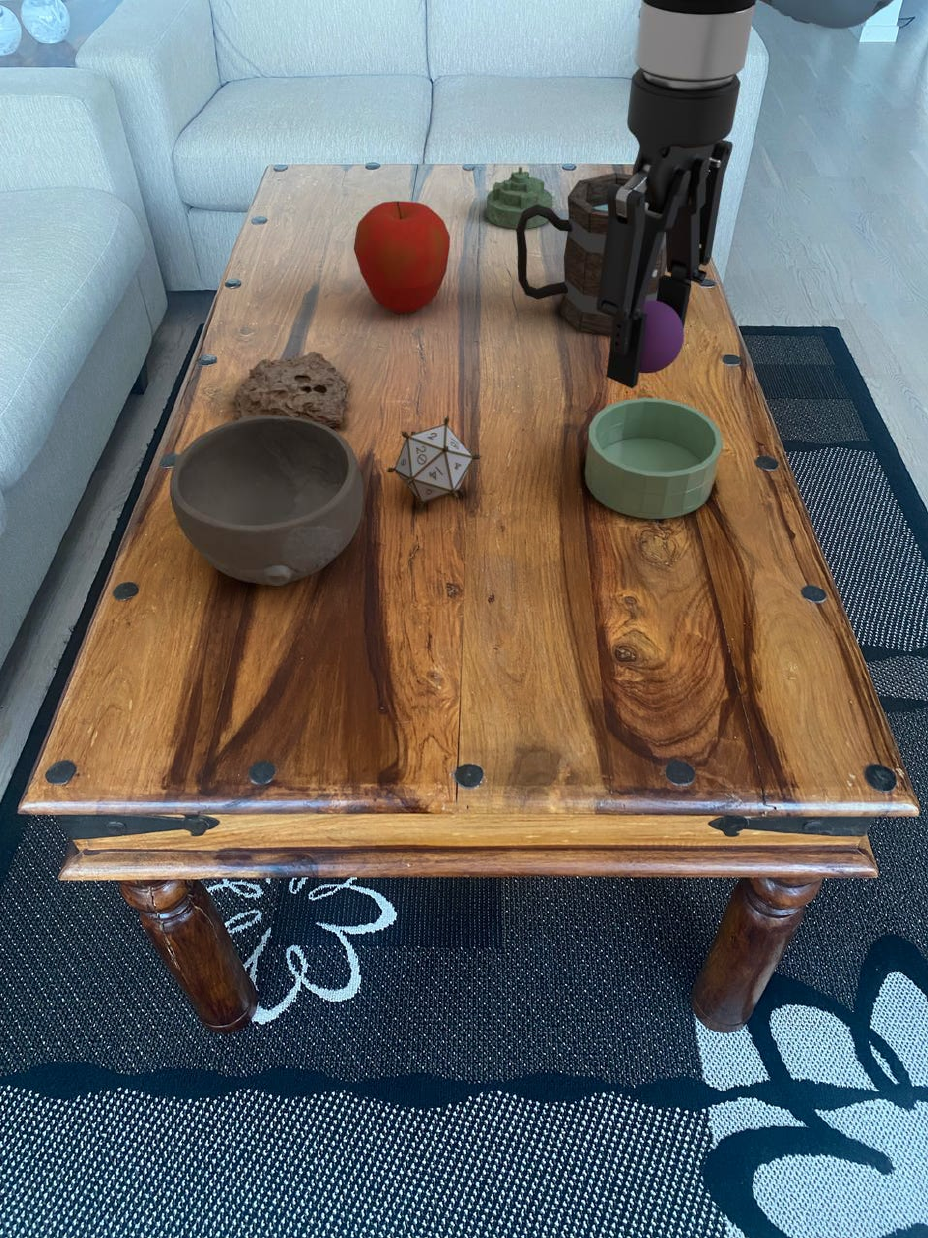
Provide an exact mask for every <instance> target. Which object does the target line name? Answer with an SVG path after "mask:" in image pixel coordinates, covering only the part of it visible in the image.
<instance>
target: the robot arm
mask: <svg viewBox="0 0 928 1238" xmlns="http://www.w3.org/2000/svg"><path fill="white" fill-rule="evenodd" d="M894 1H895V0H759V2H762V3H764V4H766V5H768V6H770V7H772V9H773V10H776V11H778V12H779V13H780V14H781V15H782V16H783V17H790V18H791V19H792V20H793V21H795V22H797V23H802V24H807V25H809V24H813V25H816V26H820V27H823V28H827V29H833V30H844V29H848V28H855V27H857V26H860V25H862V24H864V23H865V22H867V21H868V20H870V18H871V17H873V16H875V14H877V13H878V12H880V11H881V10H883V9H885V8H886V7H889V5H890V4H892V3H893V2H894ZM756 2H757V0H641V2H640V8H639V10H638V14H637V15H638V16H637V17H638V27H637V36H636V44H635V50H634V51H635V52H634V63H635V65H636V66H637V67H638V69H637V70H636V71H635V73H633V75H632V76H631V83H630V91H629V100H628V109H627V119H626V124H627V129H628V130H629V132H630V133H631V134H632V135H633V136H634V138H635V139H636V141H637V143H638V150H637V155H636V159H635V161H634V164H633V166H632V167H633V168H632V174H631V175H632V176H633V177H632V178H631V179H630V180H629V181H628V182H627V183H626V184H625V185H624V186H620V185H617V184H612V185H611V186H610V188H609V190H608V193H607V204H608V217H609V218H608V225H607V233H606V240H605V247H604V255H603V262H602V269H601V277H600V284H599V291H598V299H597V306H596V309H597V311H598V312H601V313H603V314H606V315H608V316H611V317H613V320H612V329H611V336H610V339H609V352H608V360H607V368H606V378H608V379H611V381H614V382H616V383H619V384H621V385H624V386H626V387H628V388H629V389H630V388H631V389H634V388H635V387H637V386H638V382H639V375H640V373H639V369H640V363H641V356H642V349H643V342H644V335H645V328H646V322H647V314H644V313H642V309H643V306H644V302H645V299H646V295H647V292H648V289H649V285H650V282H651V278H652V275H653V271H654V268H655V265H656V261H657V258H658V254H659V251H660V248H661V244H662V241H663V237H664V234H665V232H666V262H667V267H666V271H667V273H669V274H670V275H667V274H665V275H663V276H662V277H660V279H659V285H658V292H657V298H656V301H659V302H662V303H664V304H666V305H668V306H670V307H671V308H672V309H673V310H674V311H675V312H676V313H677V315H678V316H679V318H680V320H681V322H682V325H683V330H684V329H685V324H686V318H687V313H688V307H689V301H690V296H691V290H692V285H693V284H692V282H694V283H696V284H700V285H701V284H703V283H704V281H705V280H706V278H707V273H708V272H707V271H705V270H702V269H700V266H705V267H706V266H708V264H709V263H710V262H711V258H712V256H713V255H712V254H713V249H714V242H715V236H716V230H717V223H718V216H719V212H720V211H719V210H720V206H721V205H720V204H721V198H722V192H723V186H724V180H725V174H726V171H727V167H728V164H729V161H730V158H731V156H732V155H731V154H732V151H733V146H734V145H733V142H732V141H729V140H725V139H726V138H727V137H728V136H729V135H730V134H731V132H732V129H733V125H734V120H735V115H736V109H737V104H738V98H739V93H740V89H741V81H740V79H739V76H738V73H740V72H741V71H742V70H743V69H744V68H745V66H746V59H747V54H748V49H749V42H750V37H751V32H752V31H751V30H752V25H753V19H754V13H755V9H756ZM646 210H649V211H652V212H655V213H658V214H662V217H659V216H656V215H653V214H650V213H647V212H645V211H646ZM680 352H681V351H680ZM680 352H679V354H680Z"/></svg>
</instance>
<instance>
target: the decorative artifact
mask: <svg viewBox="0 0 928 1238" xmlns="http://www.w3.org/2000/svg"><path fill="white" fill-rule="evenodd" d="M536 204H539V205H542V206H545V207H548V208H550V209H551V210H552V211H553V195H552V193H550V191H548V190H546V189H545V181H544V180H542V179H540V178H537V177H534V176H530V173H529V172H528V171H523V167H522V166H520V167H518V171H516V172H511V173H510V177H509V178H508V179H503V181H501V182H499V181H495V182H494V183H493V184H492V190H491V191H490V192H489V193H488V194H487V195H486V217H487V219H488V220H489V221H490V222H491V223H492V224H494V225H496V226H499V227H502V228H505V229H514V230H516V229H517V226H518V223H519V220H520V217H521V214H522V212H523V210H525V209H527V208H530V207H532V206H534V205H536ZM548 222H550V221H549V220H548V219H546V218H544V217H542V216H539V215H537V216H535V217H532V218H530V219H528V220H527V224H526V228H525V230H526V229H532V228H537V227H541V226H543V225H545V224H547V223H548Z"/></svg>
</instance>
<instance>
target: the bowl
mask: <svg viewBox="0 0 928 1238" xmlns="http://www.w3.org/2000/svg"><path fill="white" fill-rule="evenodd" d="M169 495H170V503H171V505H172V510H173V513H174V517H175V518H176V521H177V524H178V525H179V528H180V529H181V531H182V533H183V535H184V537H186V539H187V540H188V542H189V543H190V544H191V545H192V546H193V548H194V549H195V550H196V551H197V552H198V553H199V554H200V556H201V557H202V558H203V559H204V560H205V561H206V562H207V563H208V564H209V565H210V566H211V567H213V568H215V569H216V570H218V571H219V572H221V573H223V574H225V575H226V576H229V577H230V578H232V579H233V578H234V579H236V580H239V581H242V582H245V583H252V584H257V585H265V586H269V585H270V586H275V587H279V586H280V587H282V586H285V585H287V584H288V583H290V582H295V581H299V580H302V579H304V578H306V577H309V576H311V575H314V574H316V573H318V572H319V571H321V570H323V569H324V568H325V567H326V566H327V565H329V564H330V563H331V562H332V561H334V560H335V558H338V556H339V555H340V554H341V553H342V552H343V551H344V550H345V549H346V548H347V546H348V545H349V544H350V542H351V541H352V539H353V537H354V535H355V534H356V531H357V530H358V527H359V526H360V525H359V524H360V521H361V519H362V515H363V509H364V499H365V498H364V497H365V496H364V483H363V475H362V472H361V469H360V465H359V463H358V459H357V456H356V454H355V452H354V450H353V448H352V446H351V445H350V443H349V441H347V439H345V438H344V437H343V436H342V434H340V433H338V431H336V430H334V429H333V428H332V427H331V428H329V427H327V426H325V425H323V424H320V423H318V422H315V421H312V420H308V419H304V418H299V417H290V416H277V415H259V416H250V417H246V418H241V419H234V420H230V421H228V422H225V423H221V424H220V425H217V426H216V427H214V428H211V429H210V430H208V431H206V432H204V433H202V434H201V435H200V436H197V437H196V438H195V439H194V440H193V441H192V442H190V443H189V445H187V446H186V447H185V448H184V449H183V450H182V451H181V452H180V453H179V455H178V456H177V458H176V460H175V462H174V463H173V466H172V469H171V472H170V478H169Z"/></svg>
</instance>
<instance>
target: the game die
mask: <svg viewBox="0 0 928 1238" xmlns="http://www.w3.org/2000/svg"><path fill="white" fill-rule="evenodd" d="M449 423H450V416H449V415H447V416H446V417H444V420H443V424H440V425H436V426H434V427H431V428H428V429H424V430H421V431H418V432H415V431H413V430H412V431H410V435H409V433H408V432H407V431H403V430H401V431H400V432H401V437H403V438H405V440H404V442H403V445H402V447H401V449H400V453H399V455H398V459H397V460H396V463H395V466H394V467H388V469H387V470H386V472H387V473H389V474H391V473H394V472H395V474H396V475H398V478H400V479H401V481H402V482H403V483H404V484H405V485H406V487H407V488H408V489H409V490H410V491H411V492H412V494H413V495H414V496H415V498H417V499H418V501H419V503H418V505H417V507H418V510H419V512H420V511H421V510H422V509H424V507H425V505H424V503H427V502H429V501H433V500H436V499H438V498H441V497H444V496H447V495H450V494H451V495H452V497H453V498H458V496H459V495H465V490H464V489H463V488H461V487H462V485H463V483H464V481H465V479H466V476H467V474H468V472H469V470H470V468H471V466H472V464H473V462H474V460H475V461H477V460H480V459H481V458H482V457H483V455H481V454H474V455H473V454H472V453H471V451H470V450H469V449H468V448H467V446H466V445H465V444H464V443H463V442H462V441H461V440H460V439H459V437H458V436H457V435H456V433H454V431H453V430H452V429H451V427H450V426H449V425H448V424H449Z"/></svg>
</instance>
